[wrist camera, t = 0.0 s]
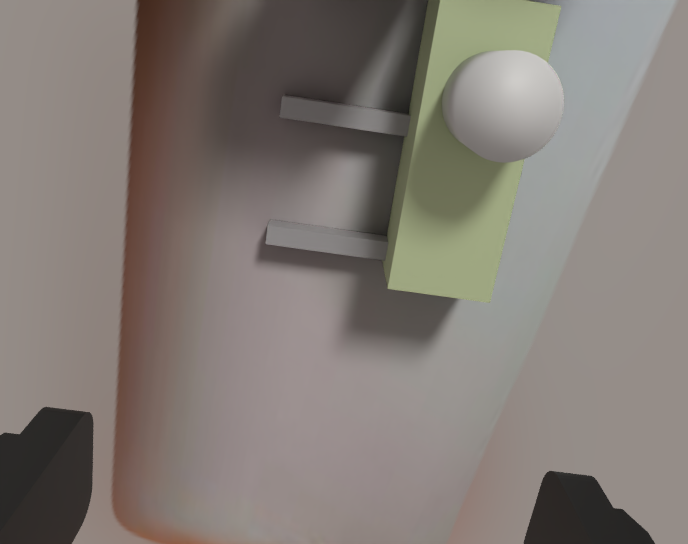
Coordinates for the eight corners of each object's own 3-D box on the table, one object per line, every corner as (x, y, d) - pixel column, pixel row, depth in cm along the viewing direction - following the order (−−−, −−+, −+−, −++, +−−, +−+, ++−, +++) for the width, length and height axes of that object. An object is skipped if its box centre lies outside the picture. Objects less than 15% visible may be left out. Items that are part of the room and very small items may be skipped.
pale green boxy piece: (297, -26, 35) (283, -52, 26) (532, 12, 36) (592, -1, 27) (267, 245, 40) (247, 296, 32) (472, 274, 41) (507, 331, 32)
